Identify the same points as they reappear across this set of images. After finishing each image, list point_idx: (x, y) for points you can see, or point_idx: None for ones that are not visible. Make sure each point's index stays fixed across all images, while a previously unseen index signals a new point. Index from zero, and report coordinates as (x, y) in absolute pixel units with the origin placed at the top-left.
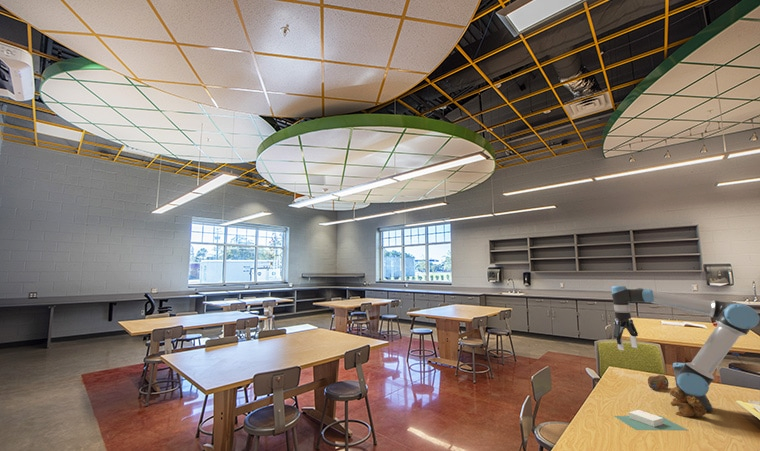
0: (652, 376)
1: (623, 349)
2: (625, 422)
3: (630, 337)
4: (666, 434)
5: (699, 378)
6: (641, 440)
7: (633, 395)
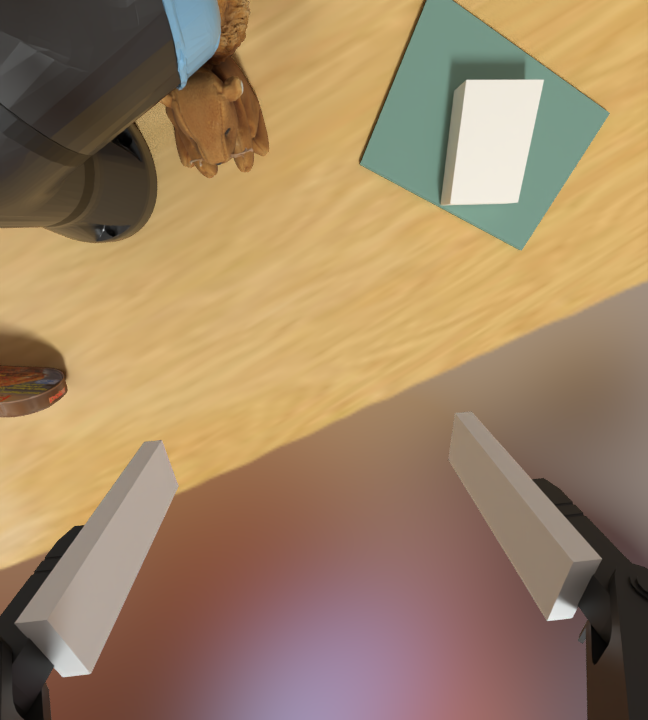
0: (5, 408)
1: (469, 419)
2: (557, 185)
3: (107, 632)
4: (548, 24)
5: None
6: None
7: (214, 365)
